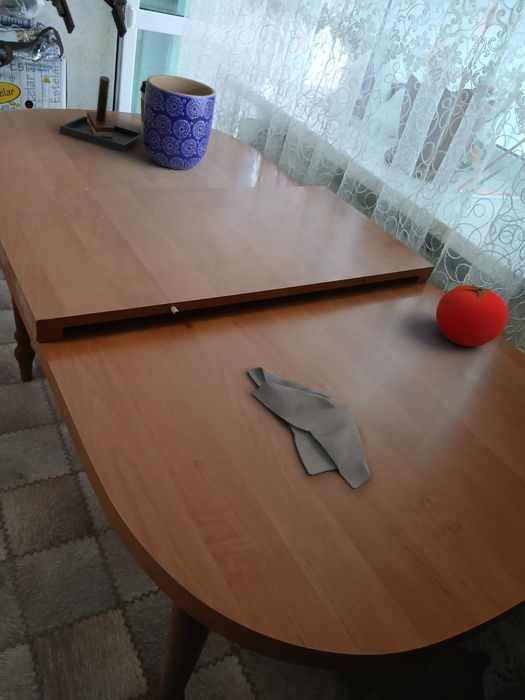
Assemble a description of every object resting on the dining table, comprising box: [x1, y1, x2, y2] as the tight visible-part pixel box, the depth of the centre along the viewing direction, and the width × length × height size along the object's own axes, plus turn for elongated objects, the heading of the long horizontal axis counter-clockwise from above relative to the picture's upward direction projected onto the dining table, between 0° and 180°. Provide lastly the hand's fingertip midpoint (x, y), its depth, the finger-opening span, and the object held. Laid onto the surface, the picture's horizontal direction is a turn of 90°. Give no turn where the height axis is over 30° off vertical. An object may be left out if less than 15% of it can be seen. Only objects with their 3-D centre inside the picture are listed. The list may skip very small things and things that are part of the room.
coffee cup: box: [139, 80, 147, 133], centre depth 165 cm, size 8×8×15 cm
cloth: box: [247, 366, 371, 490], centre depth 83 cm, size 26×14×2 cm, turn 27°
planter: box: [143, 74, 217, 170], centre depth 149 cm, size 18×18×21 cm
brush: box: [86, 75, 114, 137], centre depth 155 cm, size 8×5×15 cm, turn 31°
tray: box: [59, 115, 144, 153], centre depth 159 cm, size 20×14×2 cm
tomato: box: [435, 280, 509, 347], centre depth 109 cm, size 12×14×11 cm
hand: (98, 32), depth 130 cm, fingers open, 13 cm apart
